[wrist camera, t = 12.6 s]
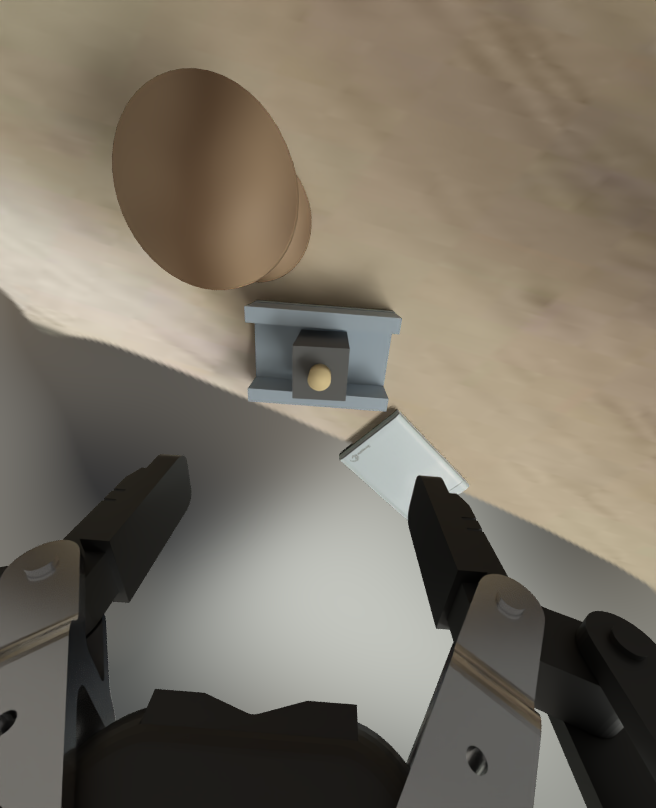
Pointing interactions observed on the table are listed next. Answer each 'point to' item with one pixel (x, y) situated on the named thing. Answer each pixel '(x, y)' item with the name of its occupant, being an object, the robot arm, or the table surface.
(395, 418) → the hard drive
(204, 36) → the table surface
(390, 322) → the blue-gray u-shaped channel
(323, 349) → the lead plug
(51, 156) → the table surface
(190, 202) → the bobbin
